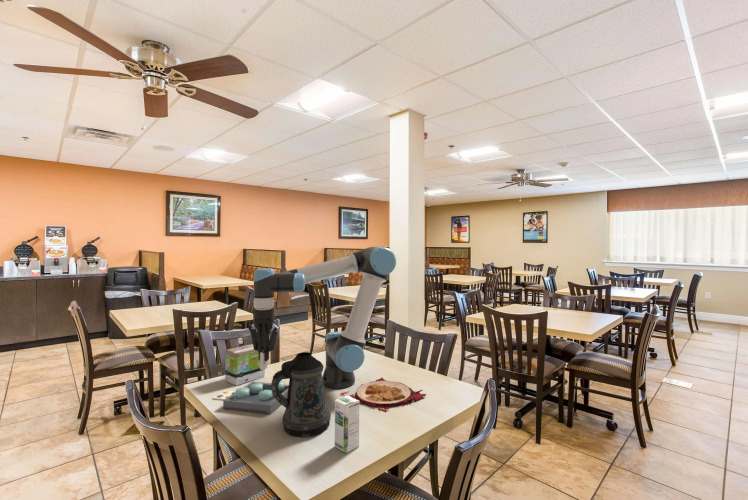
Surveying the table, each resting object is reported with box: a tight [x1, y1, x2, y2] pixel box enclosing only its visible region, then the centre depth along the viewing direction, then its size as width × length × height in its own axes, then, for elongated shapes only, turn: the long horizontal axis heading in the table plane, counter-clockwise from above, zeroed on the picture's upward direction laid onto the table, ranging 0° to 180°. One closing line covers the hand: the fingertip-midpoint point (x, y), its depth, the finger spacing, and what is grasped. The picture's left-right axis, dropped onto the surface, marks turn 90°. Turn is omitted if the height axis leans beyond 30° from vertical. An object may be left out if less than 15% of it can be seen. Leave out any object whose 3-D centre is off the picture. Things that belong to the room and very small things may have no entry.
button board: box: [222, 381, 289, 415], centre depth 145 cm, size 20×20×3 cm
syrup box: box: [333, 395, 360, 454], centre depth 111 cm, size 6×6×14 cm
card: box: [212, 389, 236, 401], centre depth 149 cm, size 8×8×1 cm
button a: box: [278, 380, 285, 391], centre depth 148 cm, size 5×5×2 cm
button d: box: [235, 387, 249, 399], centre depth 141 cm, size 5×5×2 cm
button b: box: [259, 390, 272, 402], centre depth 138 cm, size 5×5×2 cm
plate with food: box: [340, 377, 427, 413], centre depth 149 cm, size 25×26×4 cm
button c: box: [250, 383, 263, 394], centre depth 151 cm, size 5×5×2 cm
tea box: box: [224, 343, 266, 387], centre depth 169 cm, size 15×10×15 cm
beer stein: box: [270, 351, 332, 438], centre depth 123 cm, size 16×19×25 cm
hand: (263, 368), depth 140 cm, fingers closed
